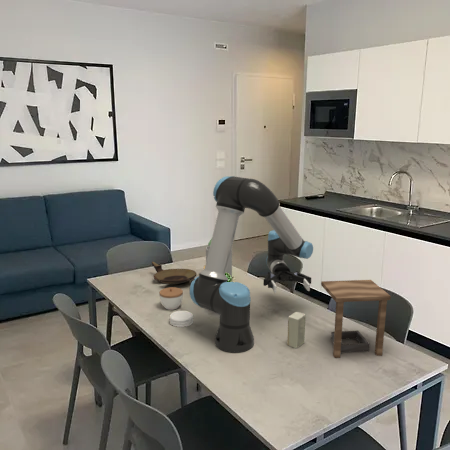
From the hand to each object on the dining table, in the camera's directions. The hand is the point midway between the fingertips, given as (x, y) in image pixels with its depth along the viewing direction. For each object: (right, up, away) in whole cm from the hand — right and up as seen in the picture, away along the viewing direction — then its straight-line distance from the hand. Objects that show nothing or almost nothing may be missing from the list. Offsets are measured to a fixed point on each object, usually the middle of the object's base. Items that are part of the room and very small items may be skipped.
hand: (292, 288), depth 180 cm
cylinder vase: (-30, -10, +41) cm, 51 cm away
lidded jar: (-52, -13, +29) cm, 60 cm away
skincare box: (+1, -21, -5) cm, 22 cm away
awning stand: (+21, -21, -6) cm, 30 cm away
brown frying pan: (-55, -5, +63) cm, 84 cm away
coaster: (-45, -17, +13) cm, 50 cm away
